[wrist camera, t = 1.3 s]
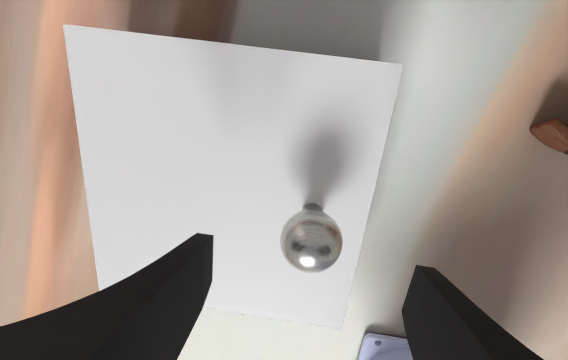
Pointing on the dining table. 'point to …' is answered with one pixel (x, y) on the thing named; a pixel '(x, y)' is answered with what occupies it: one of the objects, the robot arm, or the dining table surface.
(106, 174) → the lid
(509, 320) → the dining table surface
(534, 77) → the dining table surface
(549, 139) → the brown jagged hollow piece
